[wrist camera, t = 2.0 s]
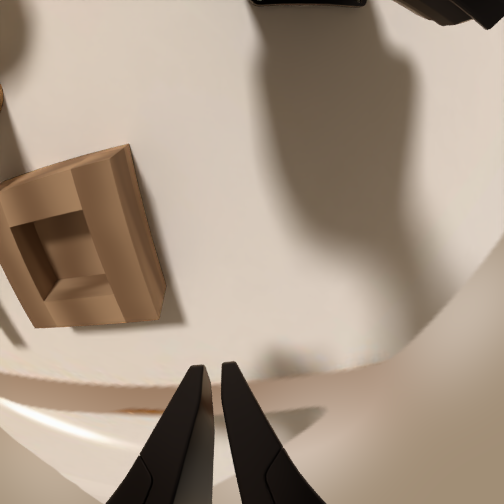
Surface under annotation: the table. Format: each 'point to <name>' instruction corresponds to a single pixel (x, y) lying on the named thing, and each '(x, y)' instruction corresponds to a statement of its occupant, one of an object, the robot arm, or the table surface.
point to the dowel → (1, 97)
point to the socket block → (80, 243)
